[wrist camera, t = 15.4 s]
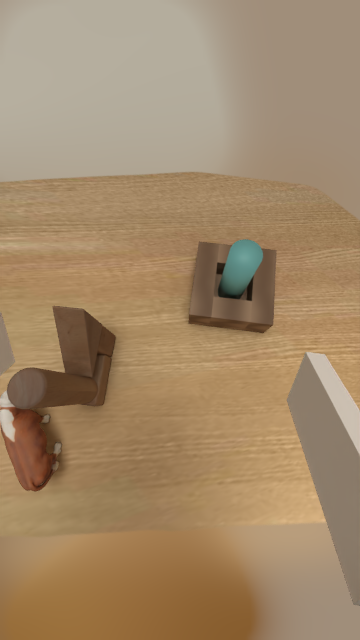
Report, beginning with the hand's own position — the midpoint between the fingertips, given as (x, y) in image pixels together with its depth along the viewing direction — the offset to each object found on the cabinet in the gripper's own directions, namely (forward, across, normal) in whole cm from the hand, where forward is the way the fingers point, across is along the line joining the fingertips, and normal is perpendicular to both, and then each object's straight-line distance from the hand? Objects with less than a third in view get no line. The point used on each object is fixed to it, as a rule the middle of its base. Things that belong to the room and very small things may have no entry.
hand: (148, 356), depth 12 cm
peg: (+31, +7, -9) cm, 33 cm away
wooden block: (+22, -12, -21) cm, 32 cm away
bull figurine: (+15, -18, -28) cm, 36 cm away
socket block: (+32, +7, -10) cm, 34 cm away
